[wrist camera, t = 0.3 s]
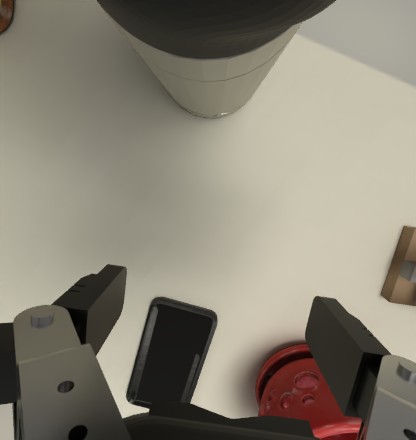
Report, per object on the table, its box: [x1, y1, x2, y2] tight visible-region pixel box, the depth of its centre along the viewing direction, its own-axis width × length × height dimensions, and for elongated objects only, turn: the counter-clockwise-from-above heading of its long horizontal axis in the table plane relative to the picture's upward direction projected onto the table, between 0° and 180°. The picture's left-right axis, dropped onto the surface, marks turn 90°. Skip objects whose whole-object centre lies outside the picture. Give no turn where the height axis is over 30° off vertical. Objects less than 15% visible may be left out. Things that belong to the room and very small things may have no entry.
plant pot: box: [255, 344, 362, 440], centre depth 27 cm, size 13×13×12 cm
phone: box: [126, 297, 217, 409], centre depth 33 cm, size 8×1×15 cm
